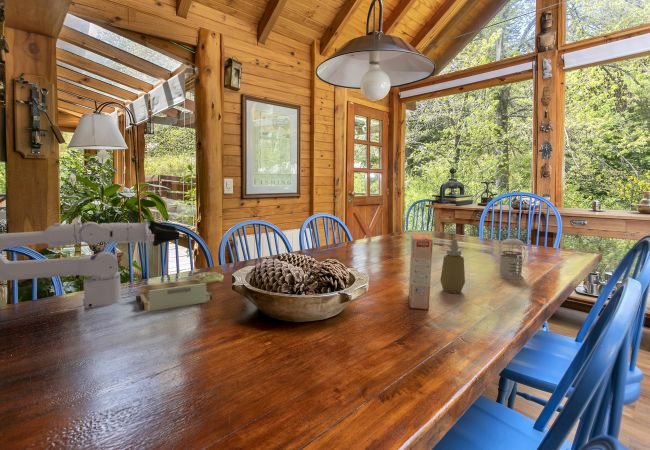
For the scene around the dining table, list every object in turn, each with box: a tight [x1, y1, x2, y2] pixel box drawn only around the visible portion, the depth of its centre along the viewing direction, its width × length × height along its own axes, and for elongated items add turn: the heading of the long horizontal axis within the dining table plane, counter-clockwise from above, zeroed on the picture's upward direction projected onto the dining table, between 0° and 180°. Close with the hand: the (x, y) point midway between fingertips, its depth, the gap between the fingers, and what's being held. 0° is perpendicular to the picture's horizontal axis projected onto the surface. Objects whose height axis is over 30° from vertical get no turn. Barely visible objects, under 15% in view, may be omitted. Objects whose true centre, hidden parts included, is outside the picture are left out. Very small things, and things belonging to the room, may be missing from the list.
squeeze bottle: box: [439, 238, 466, 294], centre depth 131 cm, size 8×8×18 cm
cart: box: [135, 278, 213, 312], centre depth 114 cm, size 20×12×6 cm, turn 122°
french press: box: [496, 213, 526, 280], centre depth 153 cm, size 10×12×25 cm
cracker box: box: [408, 232, 434, 310], centre depth 118 cm, size 14×6×21 cm, turn 168°
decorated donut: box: [192, 271, 225, 285], centre depth 137 cm, size 10×11×4 cm
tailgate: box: [149, 283, 208, 312], centre depth 108 cm, size 15×1×6 cm, turn 122°
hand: (176, 232), depth 119 cm, fingers open, 7 cm apart
